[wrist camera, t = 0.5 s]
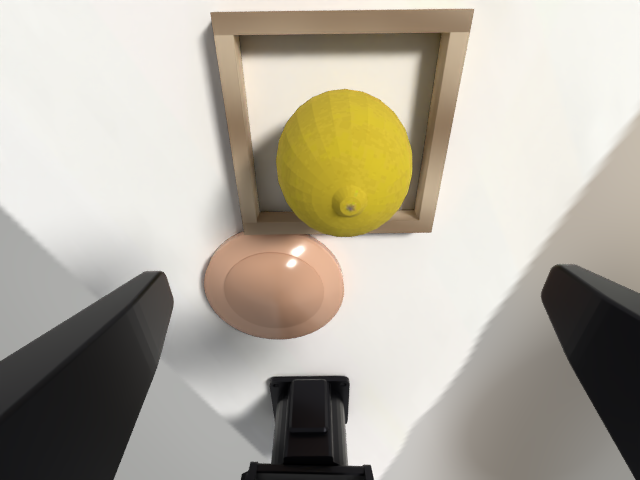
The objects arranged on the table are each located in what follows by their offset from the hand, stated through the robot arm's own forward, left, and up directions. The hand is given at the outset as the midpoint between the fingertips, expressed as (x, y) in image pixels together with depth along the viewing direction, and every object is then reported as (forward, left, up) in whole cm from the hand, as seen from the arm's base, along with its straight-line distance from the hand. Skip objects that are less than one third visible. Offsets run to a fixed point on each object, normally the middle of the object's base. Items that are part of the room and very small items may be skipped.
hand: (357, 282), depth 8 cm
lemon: (0, 0, -12) cm, 12 cm away
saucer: (-10, +4, -12) cm, 16 cm away
